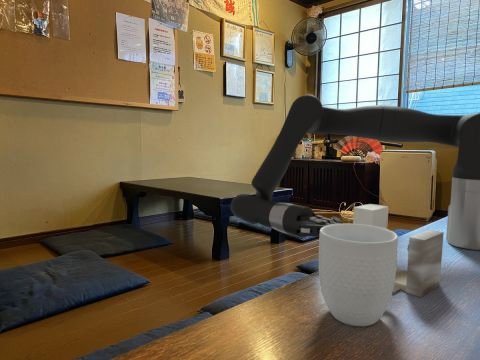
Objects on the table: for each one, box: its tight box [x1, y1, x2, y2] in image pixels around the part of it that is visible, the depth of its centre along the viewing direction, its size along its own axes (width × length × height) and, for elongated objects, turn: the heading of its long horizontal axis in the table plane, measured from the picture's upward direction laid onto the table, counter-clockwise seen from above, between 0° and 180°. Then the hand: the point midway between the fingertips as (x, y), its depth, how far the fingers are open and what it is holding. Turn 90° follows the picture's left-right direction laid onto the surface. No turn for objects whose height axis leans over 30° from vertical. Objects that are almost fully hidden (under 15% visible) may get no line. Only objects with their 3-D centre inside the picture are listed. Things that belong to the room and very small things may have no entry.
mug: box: [317, 223, 399, 327], centre depth 52 cm, size 15×11×13 cm
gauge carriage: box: [352, 203, 389, 229], centre depth 68 cm, size 4×10×12 cm, turn 129°
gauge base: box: [392, 229, 444, 298], centre depth 65 cm, size 14×10×10 cm
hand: (353, 233), depth 72 cm, fingers closed
